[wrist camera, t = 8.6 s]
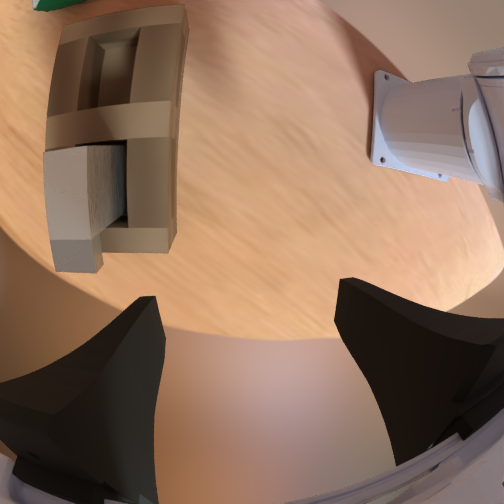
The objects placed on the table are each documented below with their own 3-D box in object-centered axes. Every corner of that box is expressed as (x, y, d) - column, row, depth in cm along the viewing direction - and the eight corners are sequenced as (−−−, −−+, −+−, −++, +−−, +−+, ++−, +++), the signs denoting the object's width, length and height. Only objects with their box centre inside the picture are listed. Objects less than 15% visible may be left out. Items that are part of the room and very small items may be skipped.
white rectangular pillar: (133, 146, 15) (86, 145, 9) (134, 228, 17) (96, 273, 11) (101, 148, 15) (43, 152, 8) (103, 229, 17) (55, 271, 10)
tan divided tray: (189, 29, 13) (184, 4, 10) (176, 232, 19) (168, 253, 15) (86, 43, 12) (63, 26, 8) (78, 232, 17) (53, 251, 14)
